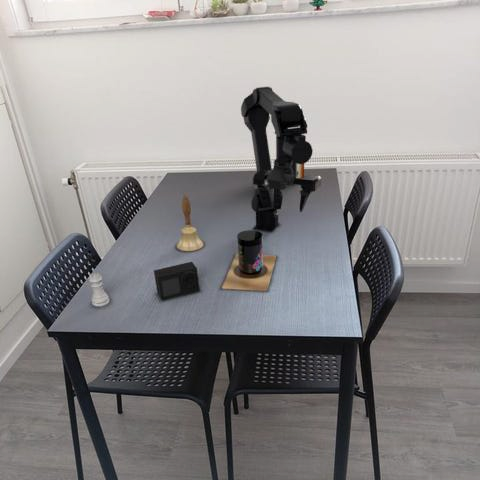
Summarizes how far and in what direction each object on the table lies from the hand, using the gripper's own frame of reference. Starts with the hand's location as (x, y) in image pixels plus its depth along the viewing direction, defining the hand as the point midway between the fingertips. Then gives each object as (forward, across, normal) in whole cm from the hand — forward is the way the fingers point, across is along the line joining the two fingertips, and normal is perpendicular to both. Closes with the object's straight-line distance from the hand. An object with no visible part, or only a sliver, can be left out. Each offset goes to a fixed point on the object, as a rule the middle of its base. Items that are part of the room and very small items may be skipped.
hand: (286, 209), depth 139 cm
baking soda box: (+12, -23, +61) cm, 66 cm away
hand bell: (+12, -28, -10) cm, 32 cm away
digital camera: (+12, -15, -36) cm, 41 cm away
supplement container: (+12, -3, -18) cm, 22 cm away
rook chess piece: (+12, -31, -48) cm, 58 cm away
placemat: (+12, -3, -18) cm, 22 cm away
